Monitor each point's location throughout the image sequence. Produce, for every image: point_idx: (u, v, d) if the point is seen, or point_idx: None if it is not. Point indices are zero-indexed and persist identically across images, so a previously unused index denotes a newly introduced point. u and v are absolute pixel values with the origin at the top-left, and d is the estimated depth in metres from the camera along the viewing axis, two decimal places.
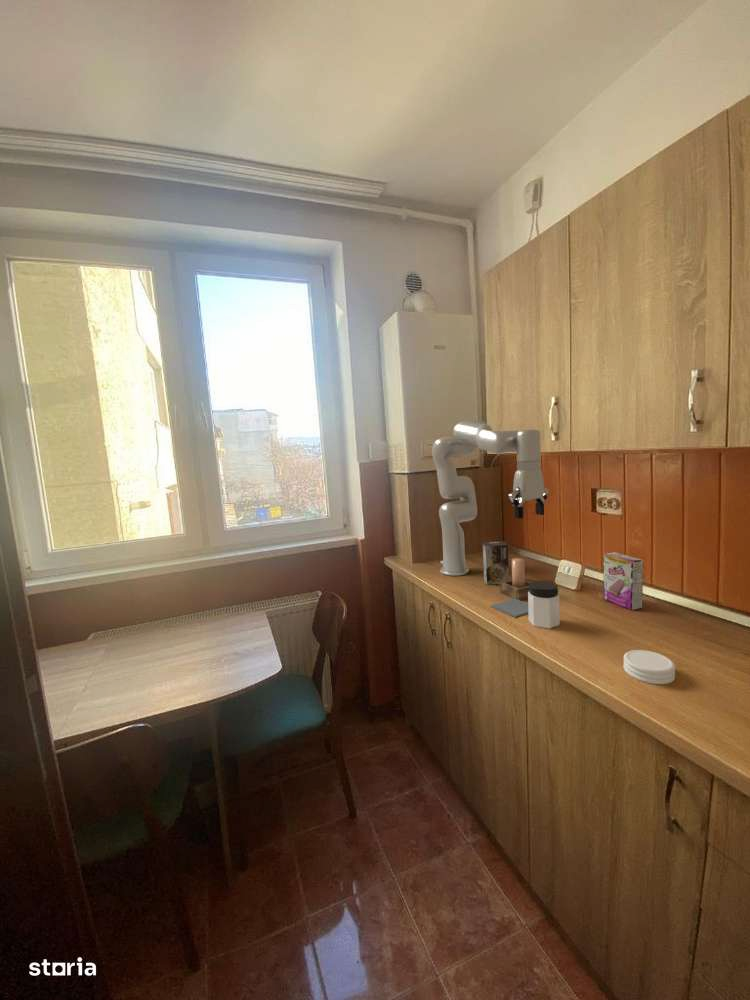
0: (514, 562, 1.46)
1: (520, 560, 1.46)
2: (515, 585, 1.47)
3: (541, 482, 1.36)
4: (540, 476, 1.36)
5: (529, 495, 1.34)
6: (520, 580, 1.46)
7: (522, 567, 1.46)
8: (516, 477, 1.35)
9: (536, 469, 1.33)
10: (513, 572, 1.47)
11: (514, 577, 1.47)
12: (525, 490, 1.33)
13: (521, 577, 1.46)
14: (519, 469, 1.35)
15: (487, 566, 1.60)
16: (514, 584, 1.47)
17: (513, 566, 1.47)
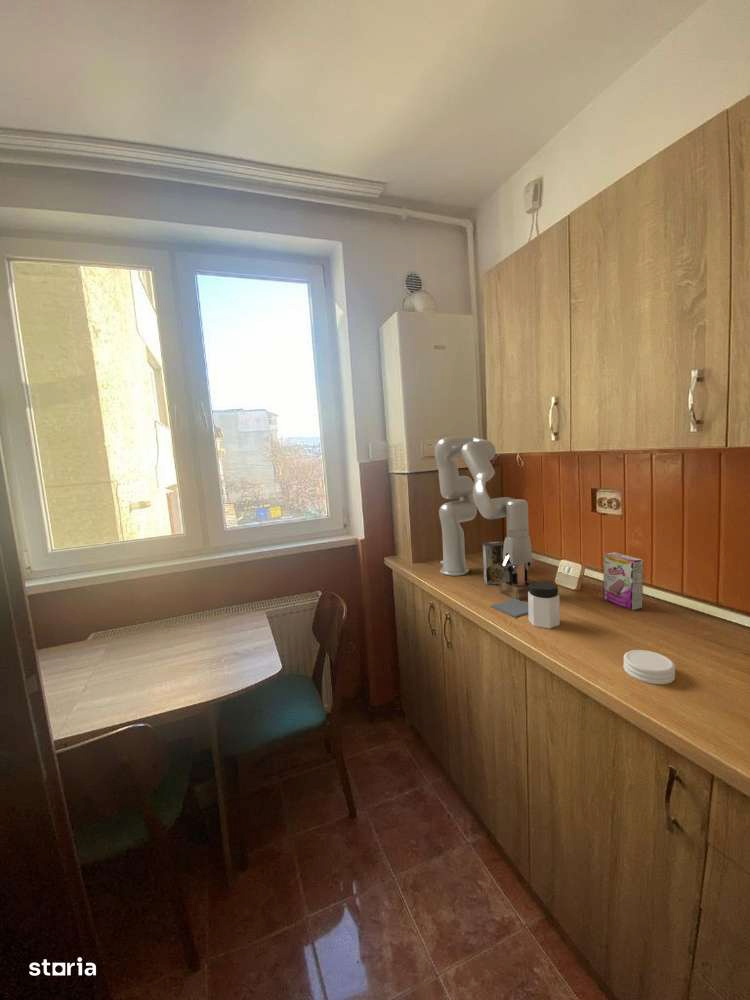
0: None
1: None
2: (515, 585, 1.47)
3: (529, 547, 1.46)
4: (528, 543, 1.46)
5: (517, 561, 1.44)
6: (520, 580, 1.46)
7: (522, 567, 1.46)
8: (506, 543, 1.45)
9: (524, 537, 1.43)
10: None
11: None
12: (514, 556, 1.43)
13: (521, 577, 1.46)
14: (508, 536, 1.45)
15: (487, 566, 1.60)
16: (514, 584, 1.47)
17: None
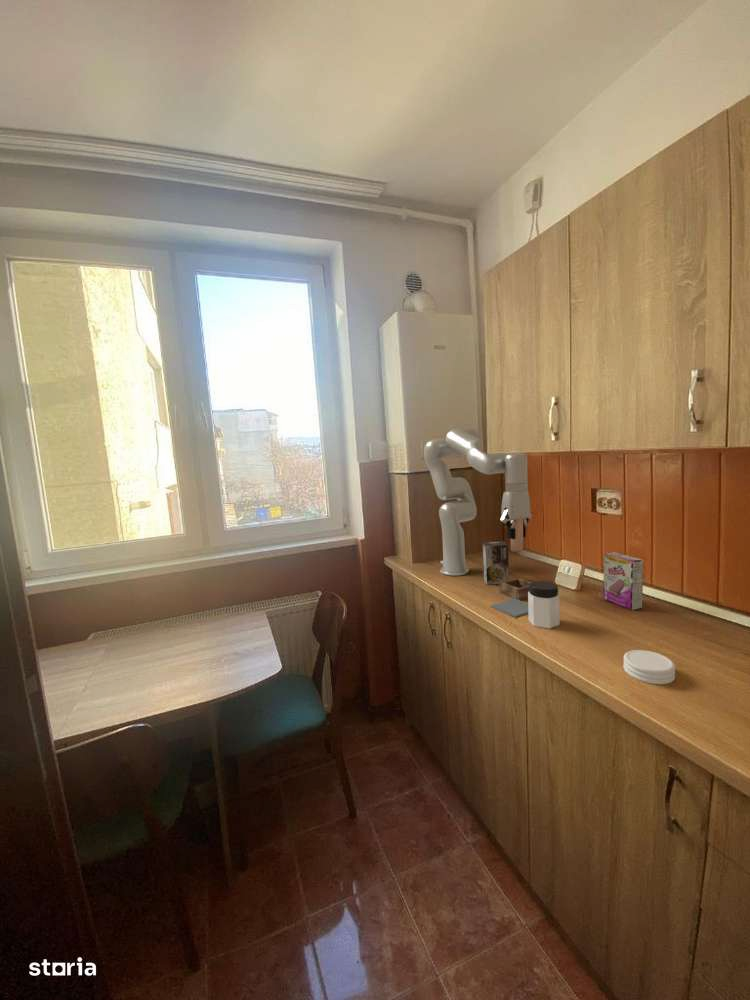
0: None
1: None
2: (513, 540, 1.45)
3: (527, 502, 1.44)
4: (527, 497, 1.44)
5: (516, 515, 1.43)
6: (518, 535, 1.44)
7: (520, 522, 1.44)
8: (504, 498, 1.43)
9: (523, 491, 1.41)
10: None
11: None
12: (512, 510, 1.42)
13: (519, 532, 1.44)
14: (507, 490, 1.43)
15: (487, 566, 1.60)
16: (512, 539, 1.46)
17: None
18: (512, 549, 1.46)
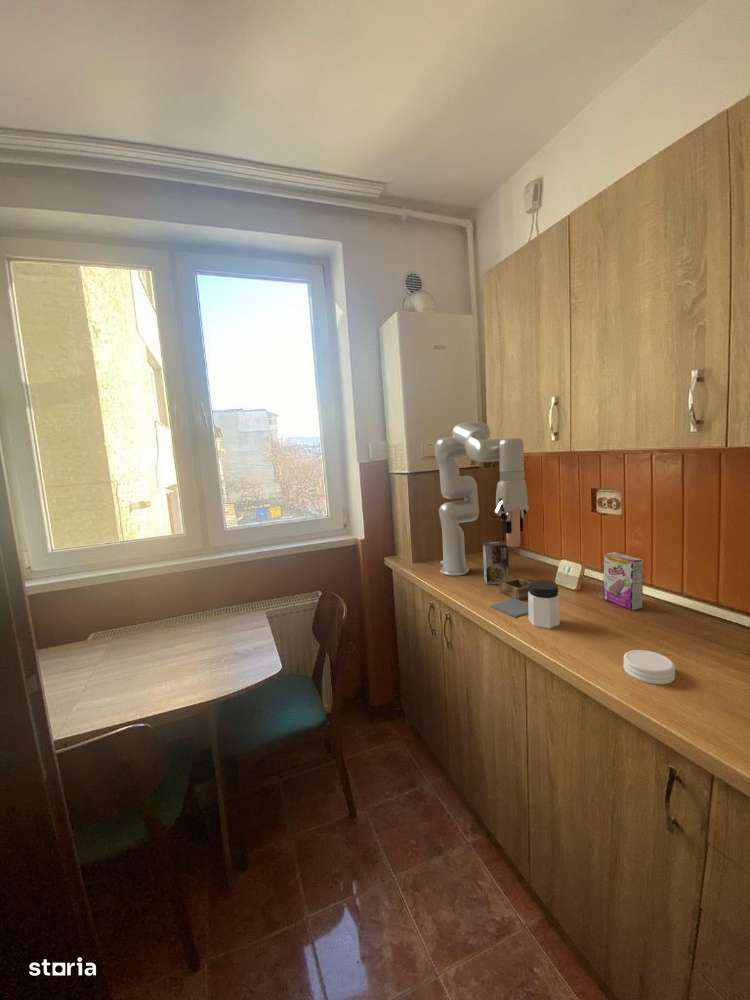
0: None
1: None
2: (509, 535, 1.32)
3: (524, 493, 1.31)
4: (524, 487, 1.30)
5: (512, 507, 1.29)
6: (514, 529, 1.31)
7: (517, 514, 1.30)
8: (498, 488, 1.30)
9: (519, 480, 1.27)
10: None
11: None
12: (508, 501, 1.28)
13: (516, 525, 1.30)
14: (502, 479, 1.30)
15: (487, 566, 1.60)
16: (508, 533, 1.32)
17: None
18: (508, 544, 1.32)
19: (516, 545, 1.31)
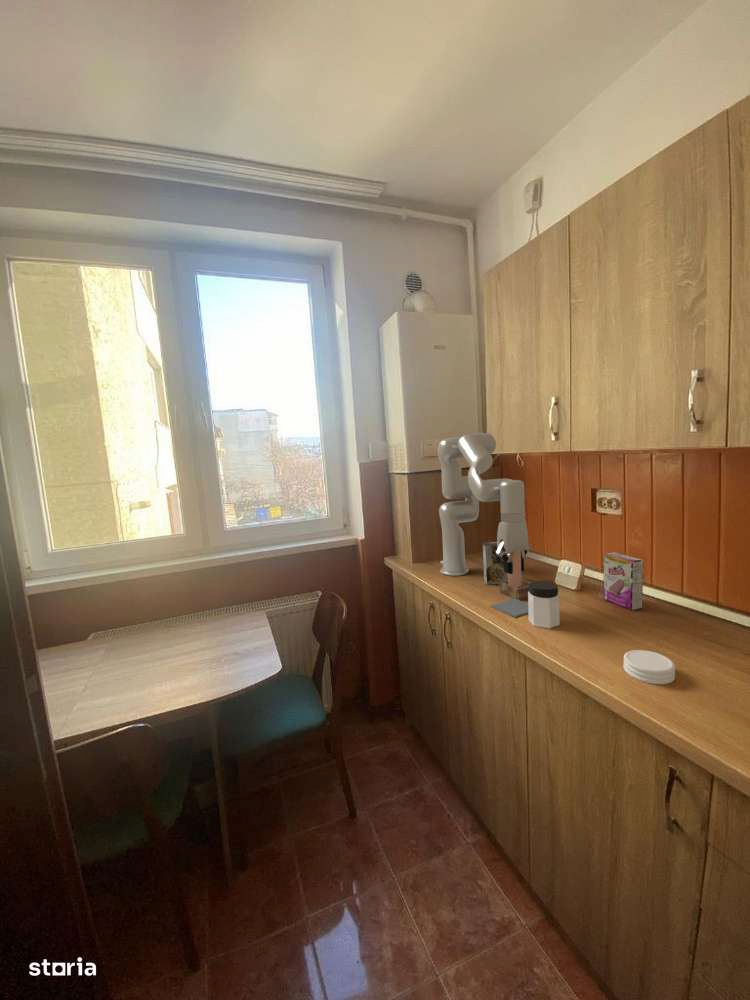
0: None
1: None
2: (511, 575, 1.33)
3: (525, 533, 1.32)
4: (525, 528, 1.32)
5: (513, 548, 1.30)
6: (516, 570, 1.32)
7: (518, 555, 1.32)
8: (500, 529, 1.31)
9: (520, 522, 1.29)
10: None
11: None
12: (509, 543, 1.30)
13: (517, 566, 1.32)
14: (503, 521, 1.31)
15: (487, 566, 1.60)
16: None
17: None
18: (509, 584, 1.34)
19: (517, 585, 1.33)
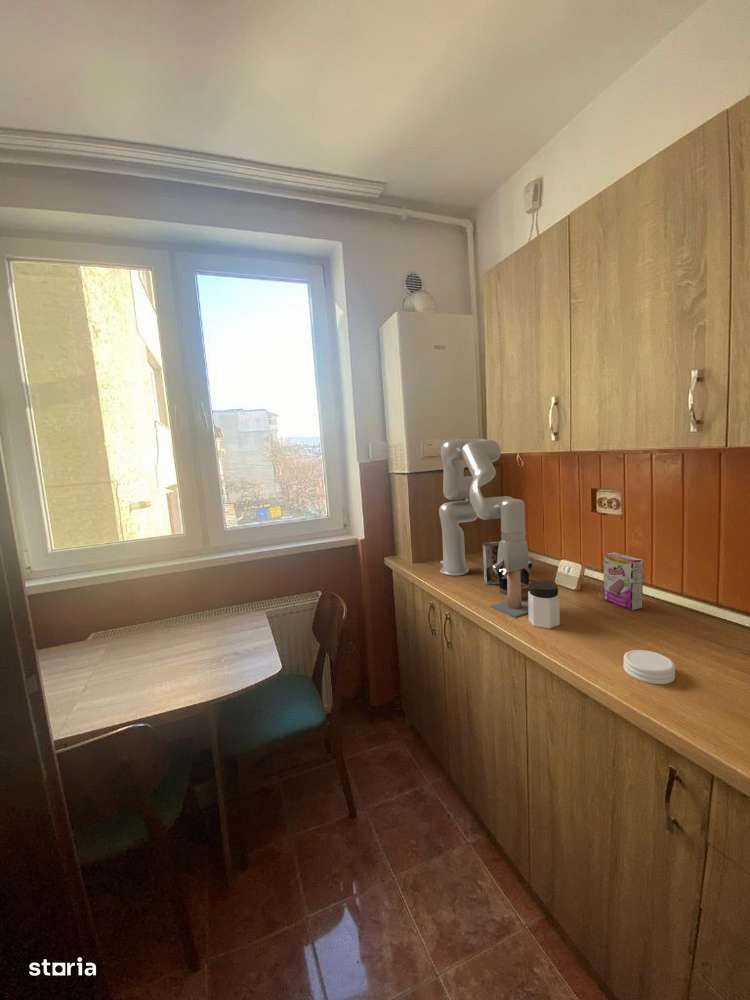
0: None
1: None
2: (510, 597, 1.34)
3: (526, 552, 1.33)
4: (525, 547, 1.33)
5: (513, 567, 1.31)
6: (515, 592, 1.33)
7: (518, 577, 1.33)
8: (500, 548, 1.32)
9: (520, 541, 1.30)
10: (508, 582, 1.34)
11: (509, 588, 1.34)
12: (509, 562, 1.30)
13: (517, 588, 1.33)
14: (503, 539, 1.32)
15: (487, 566, 1.60)
16: (510, 595, 1.34)
17: (508, 576, 1.34)
18: (509, 606, 1.35)
19: (517, 607, 1.34)
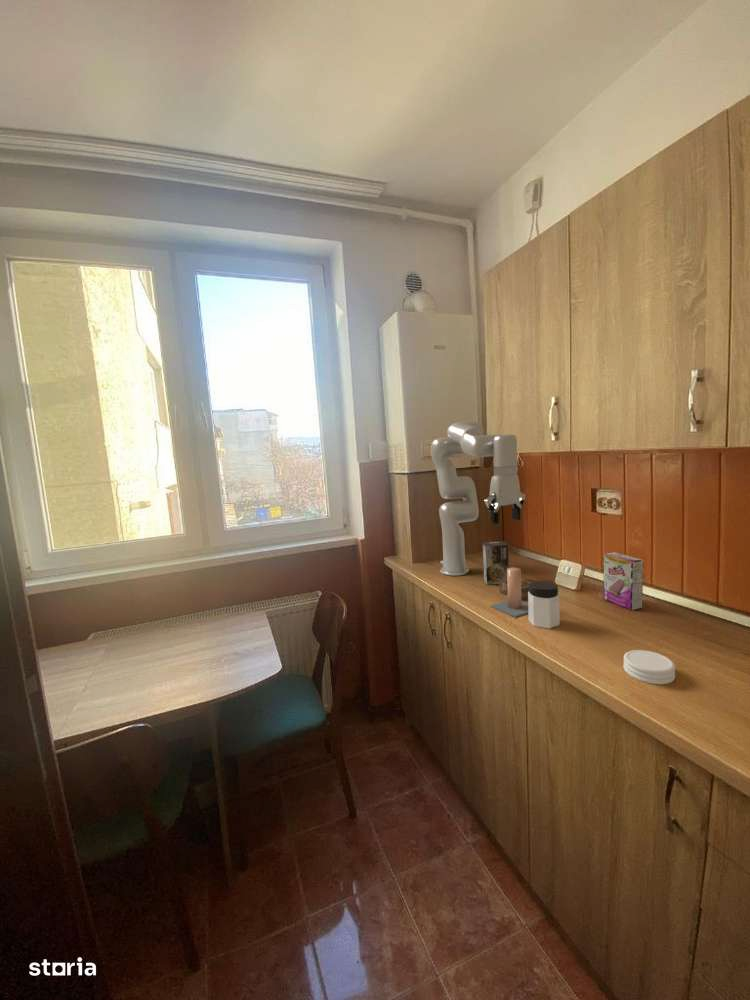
0: (509, 571, 1.33)
1: (516, 570, 1.34)
2: (511, 597, 1.34)
3: (517, 487, 1.36)
4: (517, 482, 1.35)
5: (505, 501, 1.34)
6: (516, 592, 1.33)
7: (518, 577, 1.33)
8: (492, 482, 1.35)
9: (512, 475, 1.32)
10: (508, 582, 1.34)
11: (510, 588, 1.34)
12: (501, 496, 1.33)
13: (517, 588, 1.33)
14: (495, 474, 1.35)
15: (487, 566, 1.60)
16: (510, 595, 1.34)
17: (509, 576, 1.34)
18: (510, 606, 1.35)
19: (517, 607, 1.34)
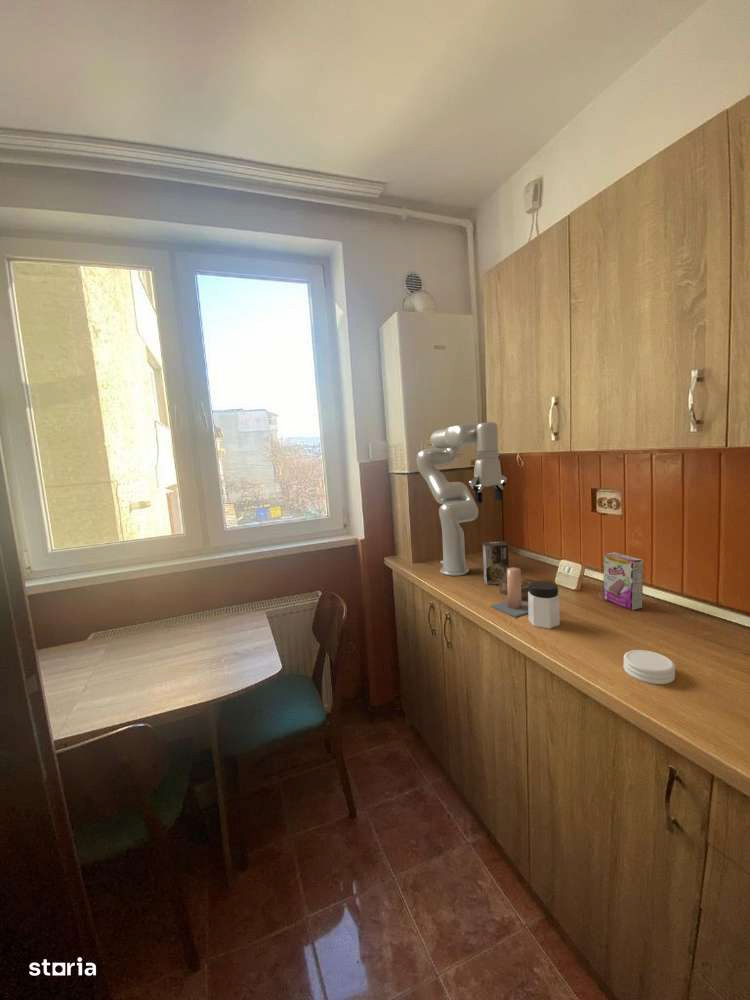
0: (509, 571, 1.33)
1: (516, 570, 1.34)
2: (511, 597, 1.34)
3: (499, 470, 1.50)
4: (498, 465, 1.50)
5: (487, 482, 1.48)
6: (516, 592, 1.33)
7: (518, 577, 1.33)
8: (476, 465, 1.49)
9: (493, 458, 1.47)
10: (508, 582, 1.34)
11: (509, 588, 1.34)
12: (484, 477, 1.47)
13: (517, 588, 1.33)
14: (479, 458, 1.49)
15: (487, 566, 1.60)
16: (510, 595, 1.34)
17: (508, 576, 1.34)
18: (509, 606, 1.35)
19: (517, 607, 1.34)
